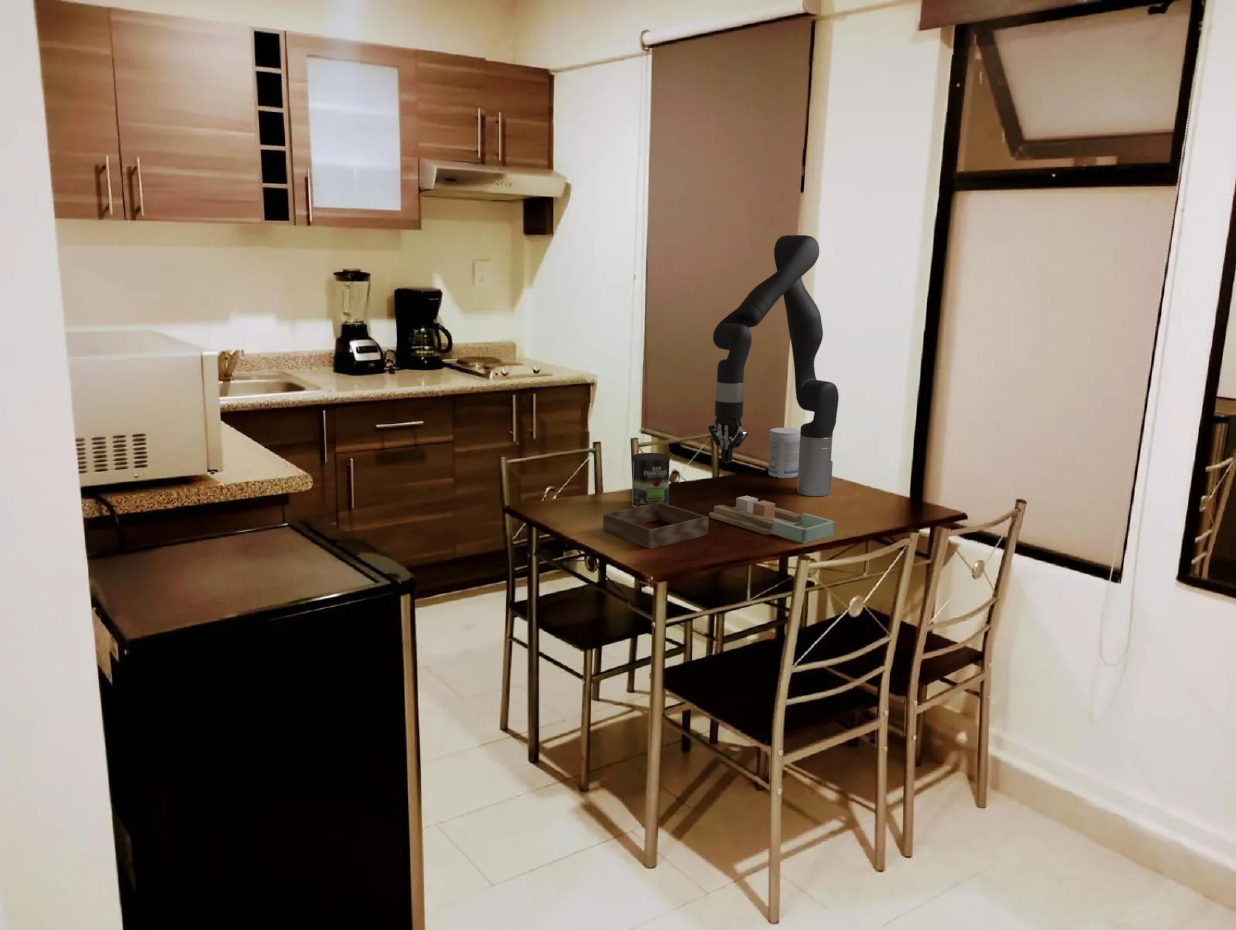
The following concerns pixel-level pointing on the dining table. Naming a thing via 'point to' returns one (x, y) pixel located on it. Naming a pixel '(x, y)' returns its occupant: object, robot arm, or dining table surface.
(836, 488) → the dining table surface
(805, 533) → the tray
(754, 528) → the slot board
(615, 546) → the dining table surface
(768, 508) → the orange cube
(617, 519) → the brown shallow square box
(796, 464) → the supplement tub
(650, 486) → the coffee can
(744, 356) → the robot arm
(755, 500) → the light grey cube
